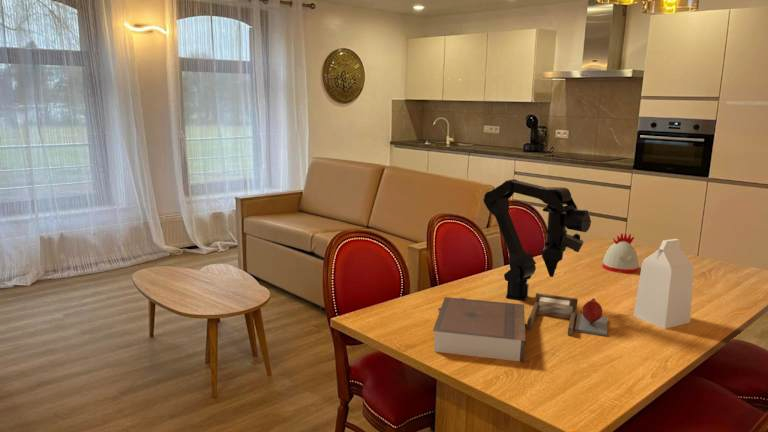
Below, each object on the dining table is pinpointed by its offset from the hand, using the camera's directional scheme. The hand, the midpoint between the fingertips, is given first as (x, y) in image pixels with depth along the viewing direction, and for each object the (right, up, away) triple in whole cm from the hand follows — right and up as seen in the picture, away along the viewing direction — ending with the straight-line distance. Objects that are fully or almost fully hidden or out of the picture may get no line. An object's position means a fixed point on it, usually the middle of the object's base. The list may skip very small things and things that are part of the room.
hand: (552, 272), depth 190 cm
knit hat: (+42, -3, +49) cm, 65 cm away
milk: (+33, -14, -6) cm, 36 cm away
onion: (+8, -14, -12) cm, 21 cm away
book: (-28, -17, -22) cm, 39 cm away
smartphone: (-31, -12, +1) cm, 33 cm away
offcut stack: (-1, -13, -4) cm, 14 cm away
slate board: (+8, -15, -12) cm, 21 cm away
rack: (-3, -14, -9) cm, 17 cm away
